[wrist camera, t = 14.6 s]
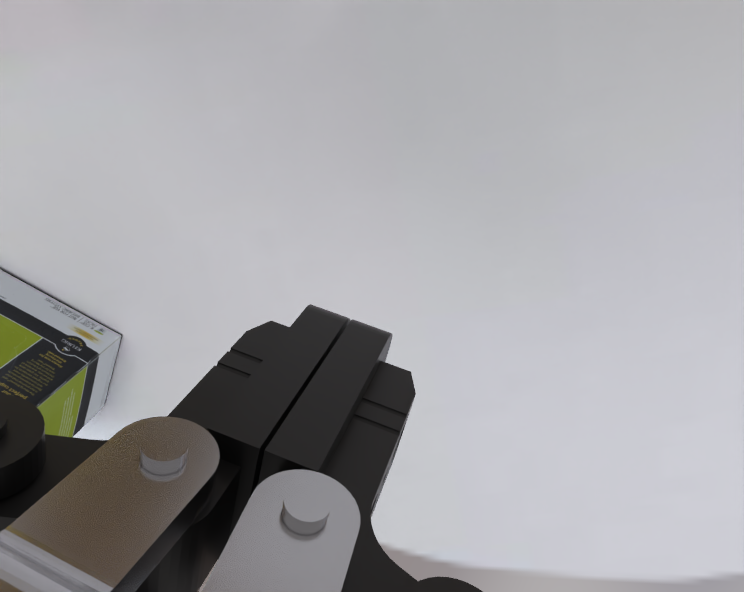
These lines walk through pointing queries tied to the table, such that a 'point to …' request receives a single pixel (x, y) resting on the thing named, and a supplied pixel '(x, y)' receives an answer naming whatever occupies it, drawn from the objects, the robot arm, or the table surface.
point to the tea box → (53, 357)
